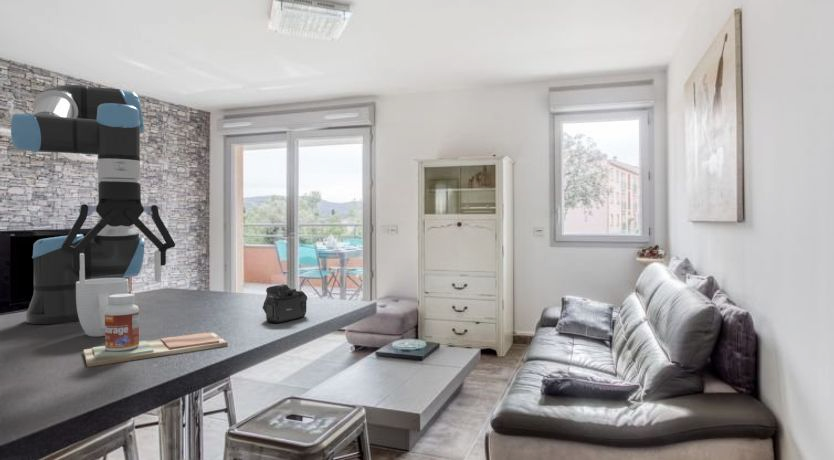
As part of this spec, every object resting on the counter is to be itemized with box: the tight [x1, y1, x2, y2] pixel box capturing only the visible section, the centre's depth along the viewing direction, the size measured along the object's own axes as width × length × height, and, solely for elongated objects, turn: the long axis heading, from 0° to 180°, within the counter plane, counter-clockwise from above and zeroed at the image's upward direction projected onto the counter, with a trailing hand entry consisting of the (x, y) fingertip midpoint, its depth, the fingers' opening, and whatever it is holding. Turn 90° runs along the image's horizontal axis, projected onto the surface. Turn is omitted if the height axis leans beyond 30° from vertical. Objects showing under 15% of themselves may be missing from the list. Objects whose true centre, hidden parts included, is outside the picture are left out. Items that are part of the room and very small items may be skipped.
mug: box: [76, 277, 130, 338], centre depth 122 cm, size 15×11×13 cm
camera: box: [262, 283, 308, 324], centre depth 141 cm, size 13×10×10 cm
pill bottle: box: [104, 293, 140, 351], centre depth 105 cm, size 6×6×11 cm
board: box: [83, 331, 229, 368], centre depth 109 cm, size 12×26×1 cm, turn 126°
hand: (121, 283), depth 105 cm, fingers open, 13 cm apart
